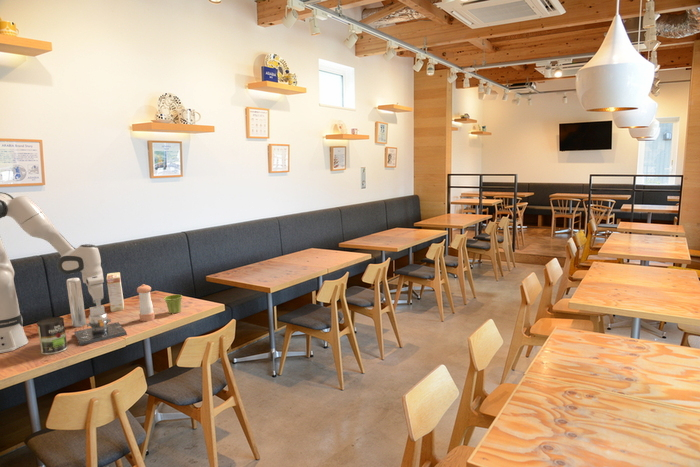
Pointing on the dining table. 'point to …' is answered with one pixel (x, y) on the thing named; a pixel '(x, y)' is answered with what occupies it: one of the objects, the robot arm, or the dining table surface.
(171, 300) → the plant pot
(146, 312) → the pepper shaker
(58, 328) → the coffee can
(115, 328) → the post plate
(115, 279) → the coffeecake box
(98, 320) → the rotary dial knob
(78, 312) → the thermos flask
